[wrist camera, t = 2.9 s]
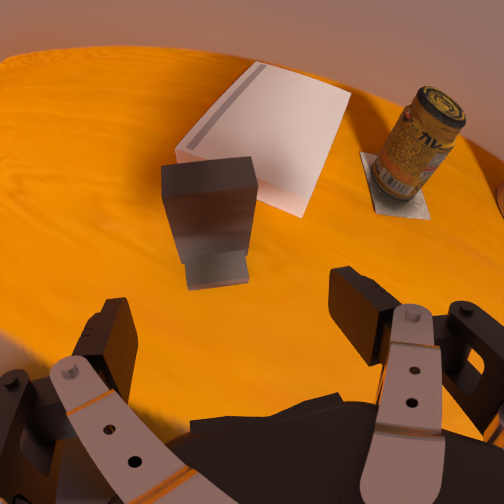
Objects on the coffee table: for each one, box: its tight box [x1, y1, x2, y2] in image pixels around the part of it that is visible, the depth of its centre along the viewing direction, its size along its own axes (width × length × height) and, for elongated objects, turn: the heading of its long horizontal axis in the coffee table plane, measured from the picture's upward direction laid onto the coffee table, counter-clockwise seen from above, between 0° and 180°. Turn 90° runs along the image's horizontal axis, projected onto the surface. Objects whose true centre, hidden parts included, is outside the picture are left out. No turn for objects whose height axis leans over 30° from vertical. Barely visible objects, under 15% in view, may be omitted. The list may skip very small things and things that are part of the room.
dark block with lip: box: [161, 156, 258, 291], centre depth 21 cm, size 6×5×10 cm
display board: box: [175, 61, 351, 218], centre depth 31 cm, size 19×13×3 cm
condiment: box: [360, 86, 466, 220], centre depth 26 cm, size 7×8×12 cm
